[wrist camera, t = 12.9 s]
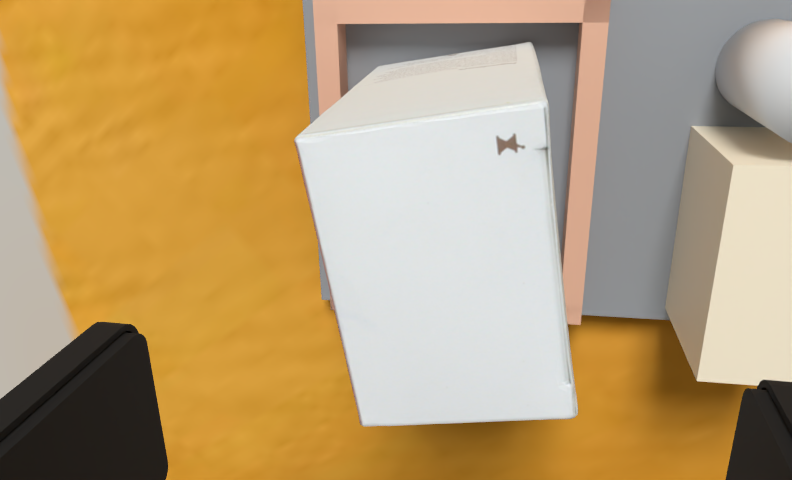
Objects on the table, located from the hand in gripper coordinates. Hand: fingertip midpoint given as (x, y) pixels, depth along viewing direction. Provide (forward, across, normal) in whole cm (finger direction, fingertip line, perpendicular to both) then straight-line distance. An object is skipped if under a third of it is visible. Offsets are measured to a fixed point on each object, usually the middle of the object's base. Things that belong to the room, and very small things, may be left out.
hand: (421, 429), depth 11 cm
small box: (+16, +1, 0) cm, 16 cm away
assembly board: (+17, -2, 0) cm, 17 cm away
